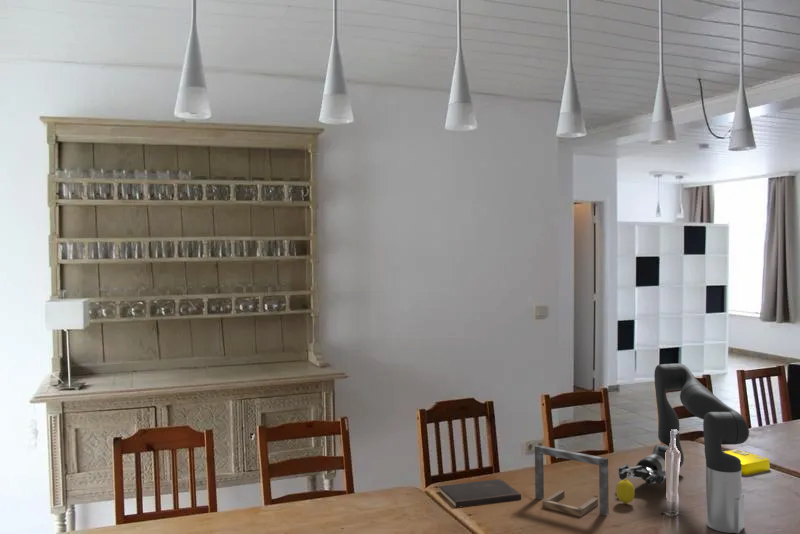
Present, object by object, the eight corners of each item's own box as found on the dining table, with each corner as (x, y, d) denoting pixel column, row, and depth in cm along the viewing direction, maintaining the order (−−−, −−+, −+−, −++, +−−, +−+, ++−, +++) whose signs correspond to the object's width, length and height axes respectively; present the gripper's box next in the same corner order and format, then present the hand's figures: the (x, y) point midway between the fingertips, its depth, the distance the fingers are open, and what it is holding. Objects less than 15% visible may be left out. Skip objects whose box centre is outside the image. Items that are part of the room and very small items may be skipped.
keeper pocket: (614, 509, 203) (614, 454, 203) (598, 521, 194) (597, 464, 194) (545, 492, 219) (544, 442, 219) (527, 503, 210) (526, 450, 209)
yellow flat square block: (708, 465, 247) (708, 452, 247) (736, 459, 253) (735, 447, 253) (744, 476, 233) (744, 463, 233) (772, 470, 240) (772, 457, 239)
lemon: (636, 507, 204) (635, 482, 204) (617, 506, 205) (617, 481, 205) (633, 501, 210) (633, 476, 210) (615, 500, 211) (615, 475, 211)
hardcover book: (438, 492, 222) (438, 485, 222) (500, 485, 228) (500, 478, 228) (455, 509, 206) (455, 502, 206) (521, 501, 213) (521, 494, 213)
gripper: (631, 452, 230) (612, 463, 217) (672, 460, 221) (655, 472, 208) (631, 474, 230) (613, 486, 217) (673, 482, 221) (656, 495, 208)
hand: (634, 479), depth 213 cm, fingers open, 8 cm apart
